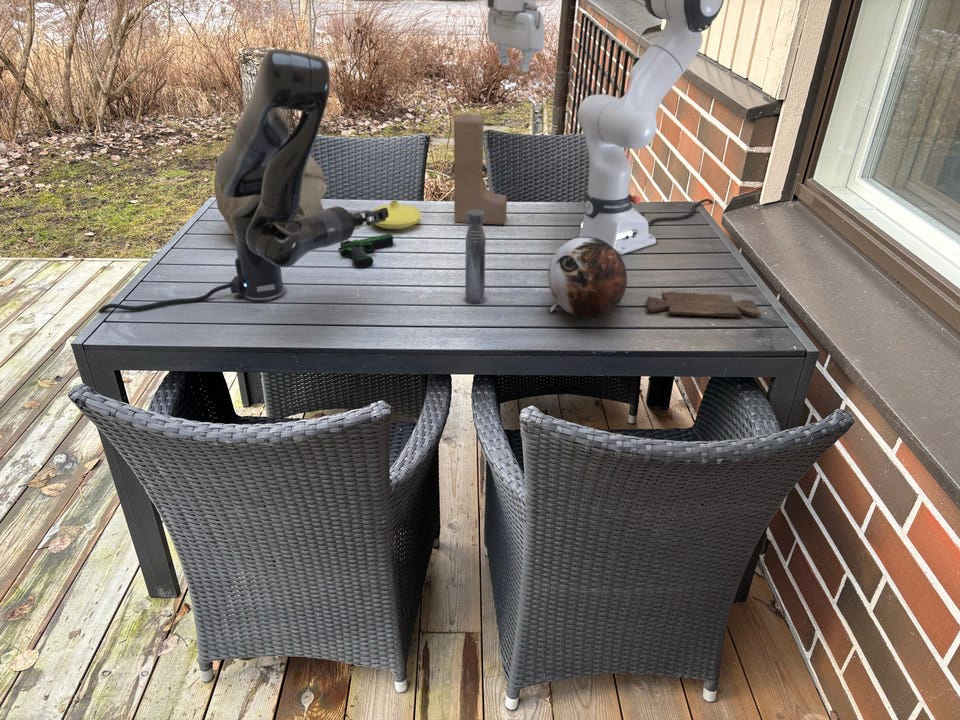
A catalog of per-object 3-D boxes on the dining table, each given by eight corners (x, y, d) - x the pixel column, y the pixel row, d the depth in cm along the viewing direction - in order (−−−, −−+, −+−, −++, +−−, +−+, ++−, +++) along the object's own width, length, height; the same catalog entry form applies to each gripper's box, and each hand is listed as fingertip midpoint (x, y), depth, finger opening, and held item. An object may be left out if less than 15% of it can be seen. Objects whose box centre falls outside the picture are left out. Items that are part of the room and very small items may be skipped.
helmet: (343, 239, 203) (337, 131, 188) (240, 258, 188) (224, 142, 173) (305, 212, 222) (297, 112, 207) (209, 227, 207) (192, 120, 192)
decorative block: (503, 225, 212) (507, 121, 197) (454, 222, 214) (453, 119, 199) (506, 217, 219) (509, 115, 204) (458, 214, 221) (458, 113, 205)
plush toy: (524, 268, 172) (583, 208, 164) (577, 314, 177) (637, 258, 168) (521, 307, 153) (588, 241, 144) (581, 357, 157) (649, 296, 149)
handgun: (350, 260, 182) (332, 238, 193) (351, 270, 183) (333, 248, 194) (409, 250, 188) (388, 230, 200) (409, 261, 190) (389, 240, 201)
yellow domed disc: (376, 214, 219) (375, 191, 216) (426, 217, 218) (426, 194, 214) (362, 232, 206) (360, 208, 202) (415, 235, 204) (415, 212, 201)
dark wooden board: (642, 297, 172) (648, 316, 163) (643, 291, 171) (649, 310, 162) (751, 300, 171) (762, 319, 162) (752, 293, 170) (764, 313, 161)
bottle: (465, 303, 168) (465, 217, 157) (465, 295, 171) (466, 210, 161) (484, 304, 168) (485, 217, 157) (484, 295, 171) (486, 211, 161)
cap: (466, 224, 158) (466, 215, 157) (467, 218, 161) (467, 209, 160) (484, 224, 158) (484, 215, 157) (484, 218, 161) (484, 209, 160)
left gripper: (349, 206, 147) (393, 194, 160) (297, 213, 154) (343, 201, 167) (357, 242, 149) (400, 227, 162) (306, 247, 156) (350, 233, 169)
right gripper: (553, 5, 152) (549, 74, 159) (507, -2, 167) (505, 61, 174) (527, 5, 149) (524, 76, 156) (483, -2, 165) (482, 62, 172)
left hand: (371, 214), depth 165 cm, fingers open, 8 cm apart
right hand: (513, 68), depth 165 cm, fingers open, 8 cm apart
